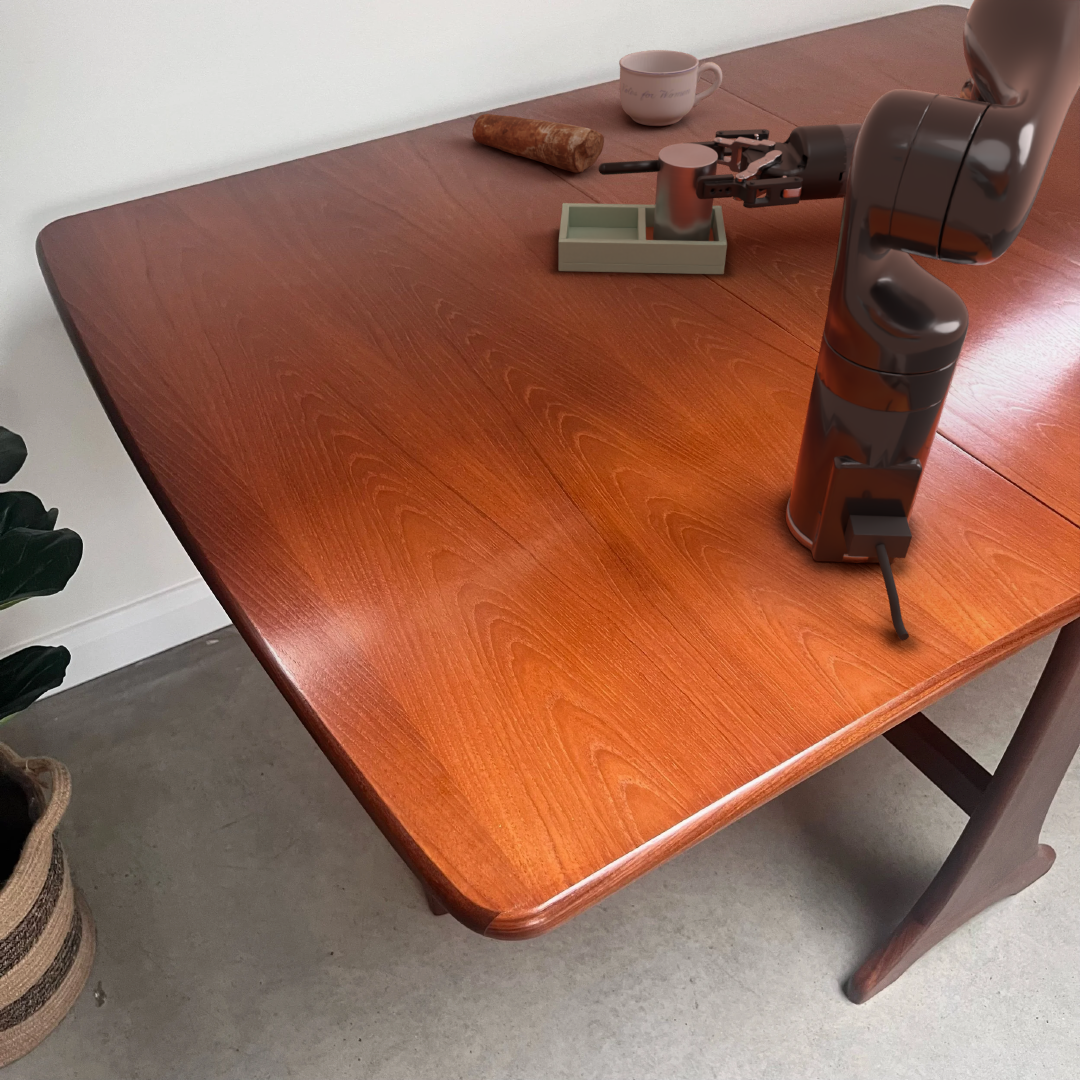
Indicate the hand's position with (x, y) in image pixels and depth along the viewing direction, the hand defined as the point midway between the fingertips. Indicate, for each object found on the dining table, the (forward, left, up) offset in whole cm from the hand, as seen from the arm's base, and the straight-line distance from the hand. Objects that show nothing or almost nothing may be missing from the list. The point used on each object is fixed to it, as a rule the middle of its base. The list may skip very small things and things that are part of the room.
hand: (688, 170), depth 111 cm
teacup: (+39, +1, -10) cm, 40 cm away
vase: (+42, -41, -10) cm, 60 cm away
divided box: (0, +5, -9) cm, 11 cm away
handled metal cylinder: (-1, +3, -8) cm, 9 cm away
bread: (+25, +19, -10) cm, 33 cm away
